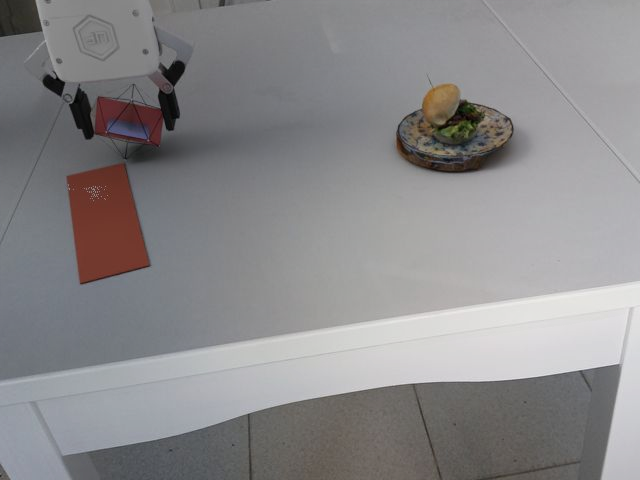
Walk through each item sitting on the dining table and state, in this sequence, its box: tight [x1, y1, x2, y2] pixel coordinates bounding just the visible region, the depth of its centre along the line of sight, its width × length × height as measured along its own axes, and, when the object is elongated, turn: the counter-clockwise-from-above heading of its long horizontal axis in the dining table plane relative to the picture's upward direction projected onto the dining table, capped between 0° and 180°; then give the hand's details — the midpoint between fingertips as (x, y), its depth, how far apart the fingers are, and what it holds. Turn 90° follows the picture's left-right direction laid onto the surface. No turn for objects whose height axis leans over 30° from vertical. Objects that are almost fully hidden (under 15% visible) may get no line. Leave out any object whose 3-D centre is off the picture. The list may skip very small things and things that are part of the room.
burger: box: [395, 74, 515, 172], centre depth 72 cm, size 12×12×8 cm
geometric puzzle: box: [90, 82, 164, 161], centre depth 76 cm, size 7×7×8 cm
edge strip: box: [66, 162, 150, 285], centre depth 70 cm, size 6×20×1 cm, turn 19°
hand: (131, 128), depth 77 cm, fingers closed on geometric puzzle, 8 cm apart
